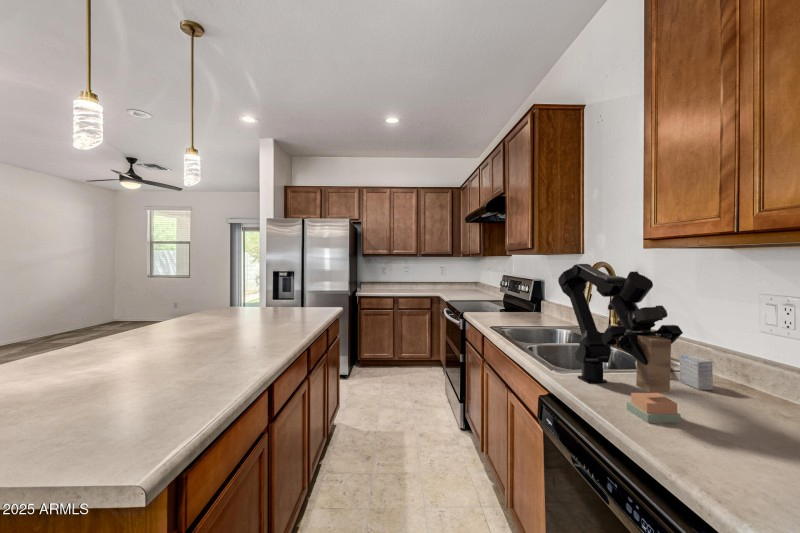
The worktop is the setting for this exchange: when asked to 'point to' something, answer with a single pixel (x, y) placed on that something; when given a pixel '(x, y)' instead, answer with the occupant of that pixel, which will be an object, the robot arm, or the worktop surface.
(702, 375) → the medicine box
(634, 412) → the tower base
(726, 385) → the worktop surface
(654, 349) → the walnut block
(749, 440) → the worktop surface
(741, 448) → the worktop surface
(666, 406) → the tower top
